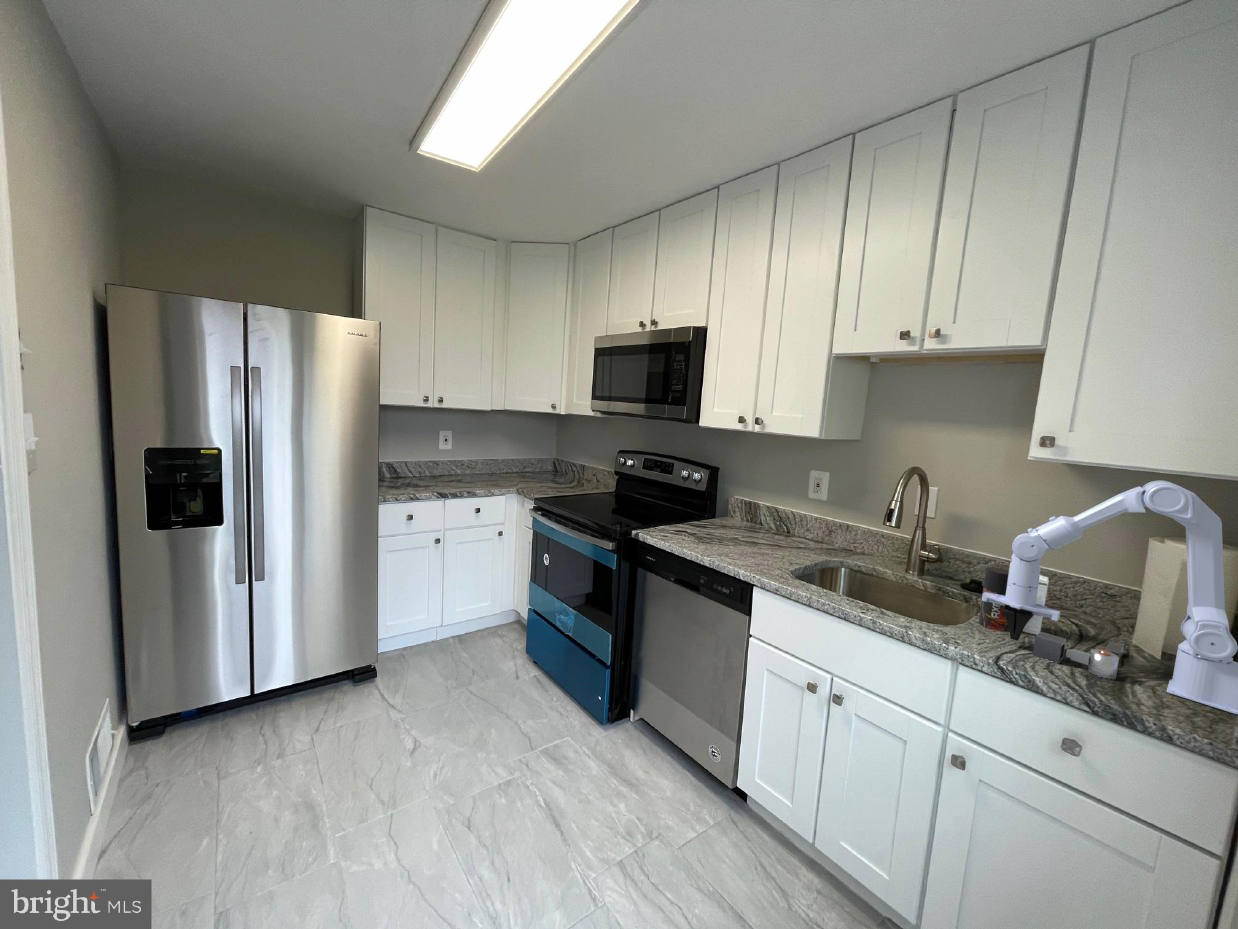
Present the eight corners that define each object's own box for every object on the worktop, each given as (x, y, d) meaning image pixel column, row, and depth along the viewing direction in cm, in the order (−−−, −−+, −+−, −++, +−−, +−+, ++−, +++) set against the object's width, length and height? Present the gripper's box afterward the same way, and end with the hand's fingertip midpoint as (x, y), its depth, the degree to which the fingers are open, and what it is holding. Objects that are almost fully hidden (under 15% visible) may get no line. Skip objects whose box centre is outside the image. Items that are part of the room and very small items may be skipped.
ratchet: (1128, 655, 120) (1131, 634, 119) (1114, 681, 107) (1117, 658, 106) (1082, 642, 126) (1085, 622, 126) (1063, 665, 113) (1066, 643, 112)
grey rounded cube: (1063, 658, 116) (1066, 639, 116) (1058, 664, 113) (1061, 644, 113) (1037, 650, 120) (1040, 631, 119) (1032, 656, 117) (1035, 636, 116)
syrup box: (1012, 623, 136) (1020, 570, 135) (1041, 629, 133) (1048, 576, 131) (1012, 629, 132) (1019, 575, 131) (1041, 636, 128) (1049, 581, 127)
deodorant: (984, 628, 131) (992, 572, 130) (974, 619, 137) (981, 566, 136) (1011, 632, 130) (1018, 575, 129) (999, 623, 136) (1006, 568, 134)
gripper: (981, 577, 123) (973, 631, 124) (1058, 596, 112) (1049, 655, 113) (990, 573, 127) (983, 625, 129) (1065, 591, 116) (1056, 647, 118)
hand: (1014, 638), depth 121 cm, fingers closed
